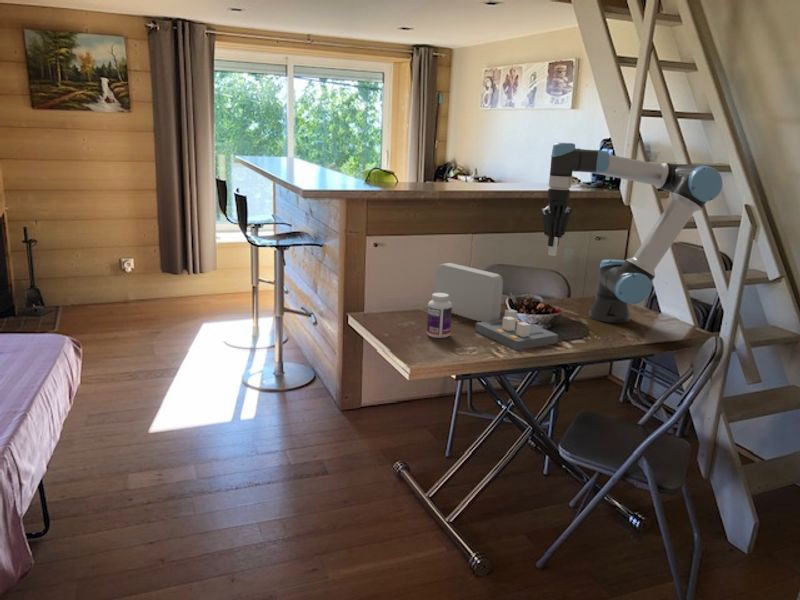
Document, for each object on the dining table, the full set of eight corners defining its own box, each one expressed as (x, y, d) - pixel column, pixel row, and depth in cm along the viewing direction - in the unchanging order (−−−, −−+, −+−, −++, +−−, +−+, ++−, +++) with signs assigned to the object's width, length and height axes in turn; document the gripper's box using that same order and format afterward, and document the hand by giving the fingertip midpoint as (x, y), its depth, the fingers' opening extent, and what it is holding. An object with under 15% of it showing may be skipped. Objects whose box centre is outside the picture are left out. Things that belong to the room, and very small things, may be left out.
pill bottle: (447, 331, 219) (449, 291, 215) (452, 339, 211) (455, 297, 208) (424, 331, 218) (426, 291, 214) (428, 339, 210) (431, 297, 206)
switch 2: (523, 333, 210) (524, 321, 209) (529, 335, 208) (530, 324, 207) (516, 334, 209) (517, 322, 208) (522, 337, 206) (523, 325, 205)
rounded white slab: (503, 321, 234) (507, 274, 230) (490, 325, 229) (494, 277, 224) (446, 304, 254) (449, 261, 249) (433, 307, 249) (436, 263, 244)
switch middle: (508, 327, 216) (509, 316, 215) (514, 330, 214) (515, 318, 213) (502, 328, 215) (503, 317, 214) (507, 331, 212) (508, 319, 211)
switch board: (514, 325, 230) (515, 316, 229) (557, 343, 212) (558, 334, 211) (475, 330, 221) (475, 322, 220) (516, 350, 203) (517, 341, 202)
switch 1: (510, 319, 225) (511, 309, 224) (516, 322, 223) (517, 311, 222) (504, 320, 224) (505, 310, 223) (509, 323, 221) (510, 312, 220)
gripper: (565, 187, 225) (557, 252, 231) (537, 187, 218) (531, 254, 224) (580, 189, 218) (572, 256, 224) (553, 189, 212) (545, 258, 218)
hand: (552, 255), depth 224 cm, fingers closed
